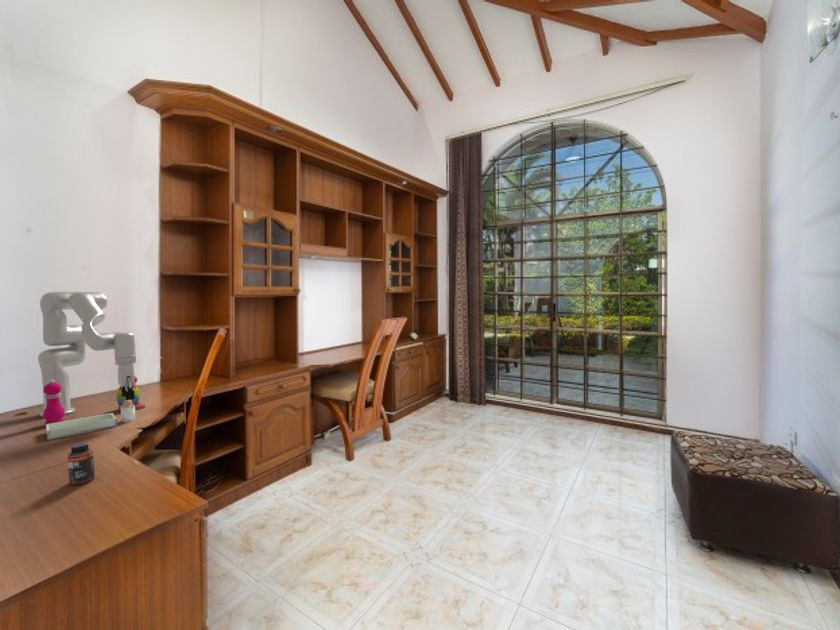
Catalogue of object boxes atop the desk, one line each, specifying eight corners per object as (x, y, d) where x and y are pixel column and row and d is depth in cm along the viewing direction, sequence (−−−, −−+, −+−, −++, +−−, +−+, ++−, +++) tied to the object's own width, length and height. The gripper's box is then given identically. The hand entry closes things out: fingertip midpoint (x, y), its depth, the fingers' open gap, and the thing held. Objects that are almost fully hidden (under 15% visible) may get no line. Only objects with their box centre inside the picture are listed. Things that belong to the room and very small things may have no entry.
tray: (46, 432, 165) (46, 424, 165) (112, 420, 180) (112, 412, 180) (47, 439, 156) (47, 431, 156) (117, 426, 172) (116, 418, 172)
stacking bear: (146, 407, 202) (145, 372, 201) (124, 412, 193) (122, 376, 192) (134, 405, 207) (133, 371, 206) (112, 410, 198) (110, 374, 197)
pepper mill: (52, 427, 172) (49, 381, 171) (39, 426, 174) (36, 381, 173) (69, 422, 179) (67, 378, 178) (57, 421, 181) (54, 377, 180)
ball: (122, 406, 180) (122, 399, 180) (131, 405, 182) (131, 398, 182) (124, 407, 178) (123, 400, 178) (132, 406, 180) (132, 399, 180)
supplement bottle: (92, 475, 124) (90, 439, 124) (97, 480, 121) (95, 443, 120) (67, 482, 120) (65, 445, 119) (71, 487, 116) (69, 449, 116)
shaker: (120, 420, 180) (119, 405, 180) (134, 417, 184) (133, 403, 184) (122, 423, 177) (121, 408, 176) (136, 420, 180) (135, 405, 180)
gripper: (112, 359, 183) (114, 396, 183) (118, 363, 170) (121, 402, 171) (132, 357, 188) (134, 393, 189) (139, 360, 176) (142, 399, 176)
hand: (128, 397), depth 180 cm, fingers open, 9 cm apart
